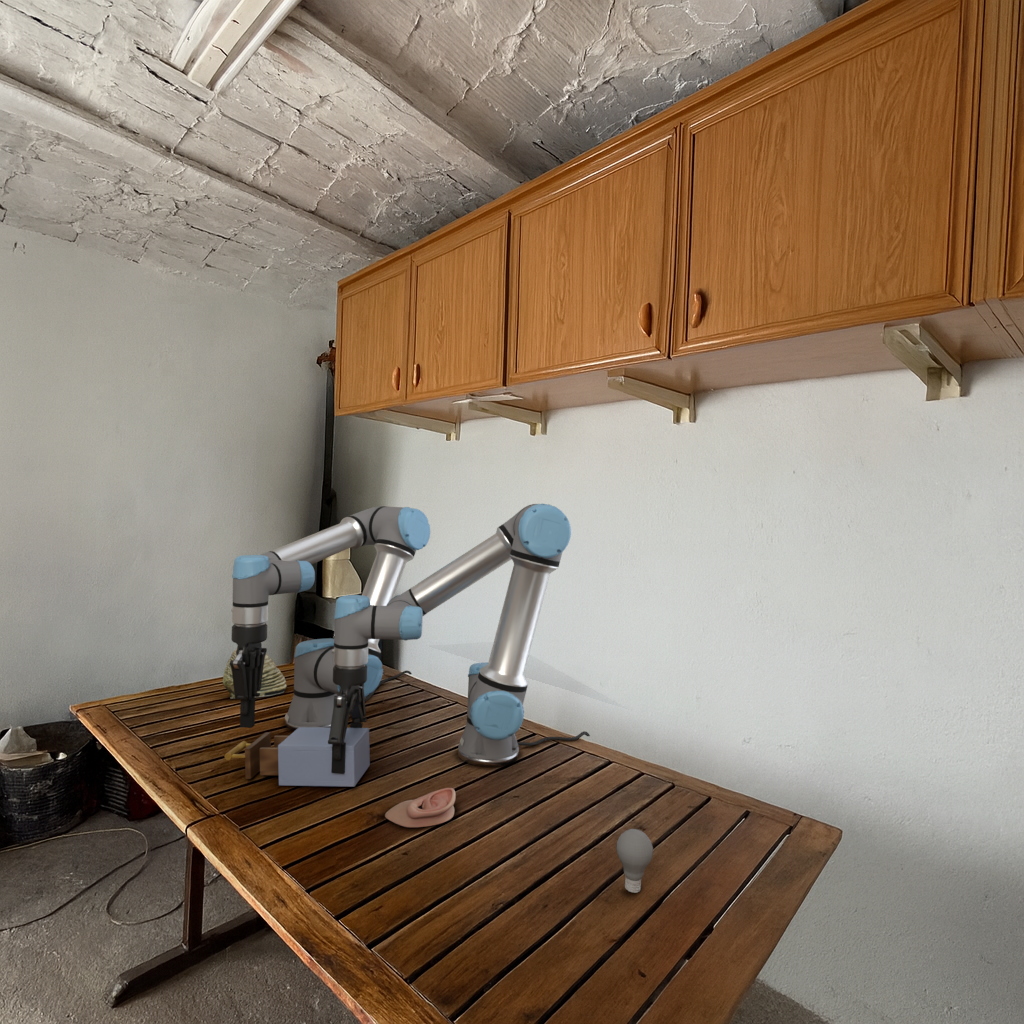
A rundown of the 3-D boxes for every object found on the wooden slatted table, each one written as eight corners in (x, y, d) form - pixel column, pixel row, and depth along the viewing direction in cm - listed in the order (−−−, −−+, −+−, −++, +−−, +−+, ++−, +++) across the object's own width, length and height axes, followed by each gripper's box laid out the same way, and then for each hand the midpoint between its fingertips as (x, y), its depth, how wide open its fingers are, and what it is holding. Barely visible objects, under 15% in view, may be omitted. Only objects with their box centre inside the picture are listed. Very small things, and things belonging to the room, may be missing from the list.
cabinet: (278, 785, 138) (277, 745, 138) (299, 764, 149) (298, 727, 149) (354, 786, 137) (353, 746, 137) (369, 765, 148) (369, 727, 148)
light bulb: (610, 879, 108) (613, 822, 108) (644, 879, 109) (647, 822, 109) (619, 902, 102) (622, 840, 102) (655, 901, 103) (658, 840, 103)
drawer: (221, 778, 140) (221, 748, 140) (244, 760, 150) (243, 732, 149) (314, 780, 138) (313, 749, 138) (330, 761, 148) (329, 732, 148)
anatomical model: (379, 803, 124) (401, 778, 135) (378, 823, 124) (400, 796, 135) (444, 812, 121) (461, 786, 132) (443, 833, 121) (460, 805, 132)
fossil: (218, 695, 195) (220, 647, 195) (278, 685, 208) (279, 640, 207) (228, 703, 189) (230, 653, 188) (289, 692, 201) (290, 645, 201)
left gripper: (247, 617, 150) (245, 715, 151) (218, 628, 137) (215, 736, 138) (278, 618, 150) (275, 717, 151) (252, 630, 137) (249, 738, 138)
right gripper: (351, 651, 154) (348, 740, 155) (314, 678, 131) (310, 783, 131) (381, 653, 154) (378, 742, 154) (349, 680, 130) (346, 786, 131)
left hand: (247, 726), depth 144 cm, fingers closed
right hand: (347, 761), depth 143 cm, fingers closed on cabinet, 11 cm apart
